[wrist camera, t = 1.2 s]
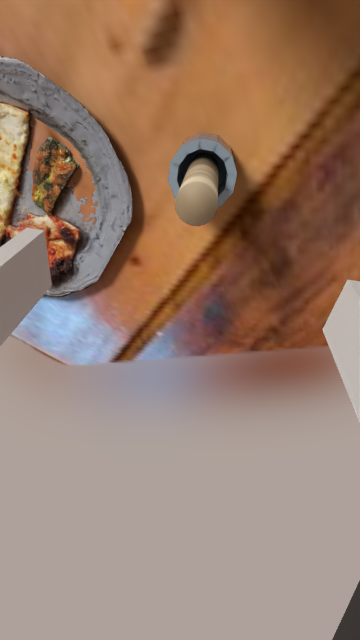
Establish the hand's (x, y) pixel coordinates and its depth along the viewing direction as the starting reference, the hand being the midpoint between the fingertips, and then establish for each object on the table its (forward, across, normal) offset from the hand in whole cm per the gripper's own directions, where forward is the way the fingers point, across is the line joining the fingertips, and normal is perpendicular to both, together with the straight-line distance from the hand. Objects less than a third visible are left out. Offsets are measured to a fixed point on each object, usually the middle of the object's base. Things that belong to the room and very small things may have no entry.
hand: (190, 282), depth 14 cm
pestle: (+24, -1, 0) cm, 24 cm away
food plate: (+25, -20, -6) cm, 33 cm away
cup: (+24, -1, 0) cm, 24 cm away
